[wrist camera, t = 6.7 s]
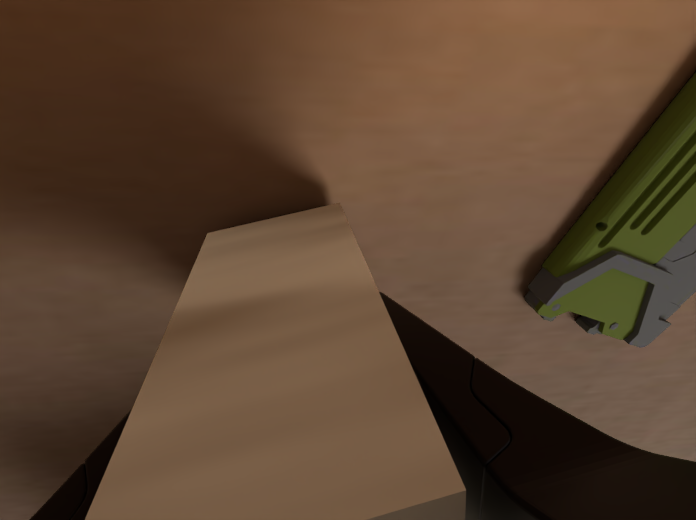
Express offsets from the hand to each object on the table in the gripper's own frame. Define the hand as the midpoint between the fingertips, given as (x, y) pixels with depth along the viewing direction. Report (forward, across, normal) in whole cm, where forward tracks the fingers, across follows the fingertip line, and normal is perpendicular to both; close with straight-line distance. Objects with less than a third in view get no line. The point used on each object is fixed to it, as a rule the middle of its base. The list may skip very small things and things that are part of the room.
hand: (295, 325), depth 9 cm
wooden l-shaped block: (+2, 0, +6) cm, 7 cm away
